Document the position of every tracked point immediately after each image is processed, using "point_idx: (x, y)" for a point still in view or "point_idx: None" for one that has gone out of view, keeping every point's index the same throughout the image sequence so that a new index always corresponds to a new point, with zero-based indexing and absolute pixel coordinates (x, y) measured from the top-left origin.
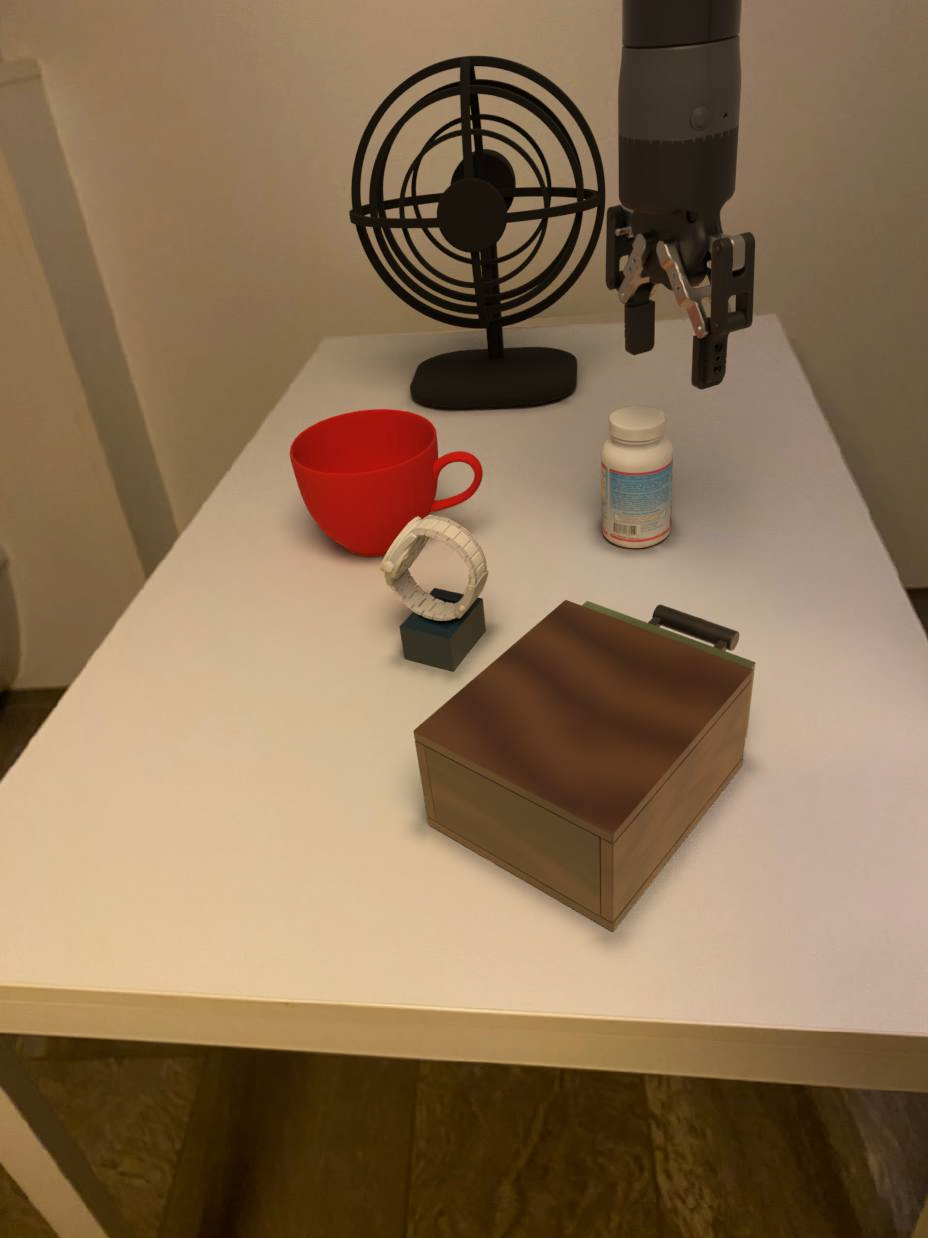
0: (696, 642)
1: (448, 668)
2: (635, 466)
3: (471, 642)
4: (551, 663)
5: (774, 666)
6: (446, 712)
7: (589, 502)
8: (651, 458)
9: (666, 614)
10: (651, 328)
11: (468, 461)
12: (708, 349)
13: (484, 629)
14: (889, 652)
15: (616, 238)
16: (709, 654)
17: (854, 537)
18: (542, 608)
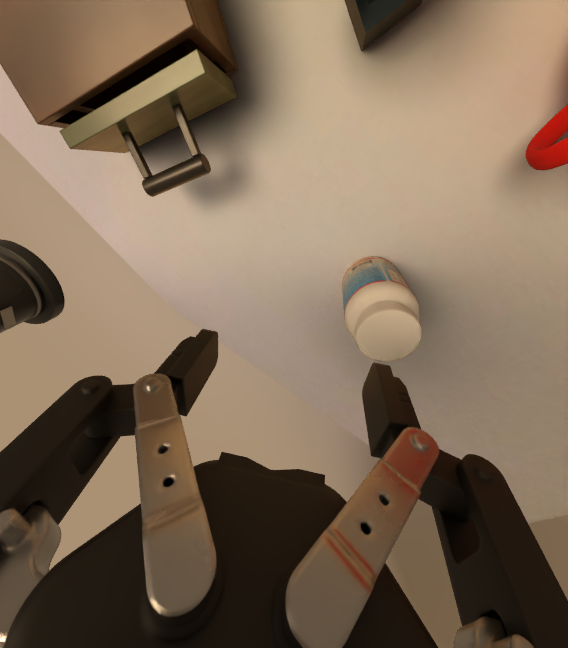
0: (105, 124)
1: None
2: (358, 293)
3: (349, 9)
4: None
5: (189, 233)
6: None
7: (436, 289)
8: (350, 310)
9: (189, 161)
10: (367, 412)
11: (564, 139)
12: (162, 367)
13: (360, 47)
14: (171, 292)
15: (519, 620)
16: (62, 104)
17: (263, 364)
18: (347, 136)
